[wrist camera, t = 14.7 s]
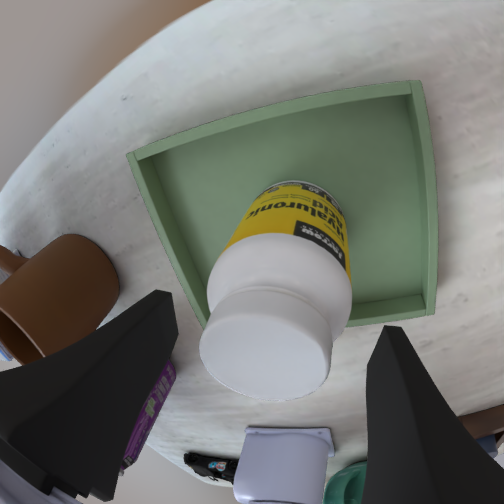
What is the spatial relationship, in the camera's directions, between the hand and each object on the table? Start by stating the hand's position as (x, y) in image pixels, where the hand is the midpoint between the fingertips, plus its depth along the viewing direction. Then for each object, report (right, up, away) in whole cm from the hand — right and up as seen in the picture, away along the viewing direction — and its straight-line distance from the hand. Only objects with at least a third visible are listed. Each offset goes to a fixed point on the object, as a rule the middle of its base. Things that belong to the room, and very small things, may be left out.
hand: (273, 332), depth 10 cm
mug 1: (-16, +3, +13) cm, 21 cm away
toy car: (-5, -30, +30) cm, 43 cm away
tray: (+2, +4, +7) cm, 9 cm away
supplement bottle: (+2, +4, +7) cm, 8 cm away
